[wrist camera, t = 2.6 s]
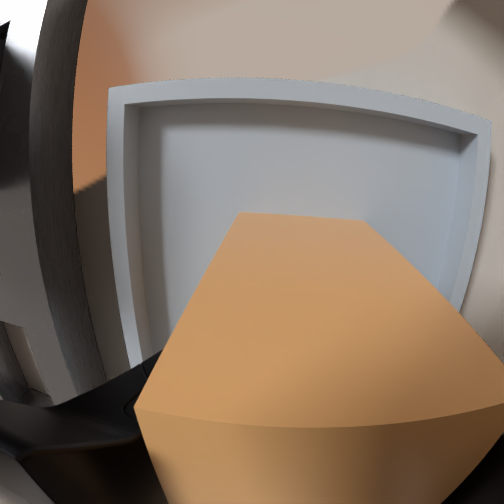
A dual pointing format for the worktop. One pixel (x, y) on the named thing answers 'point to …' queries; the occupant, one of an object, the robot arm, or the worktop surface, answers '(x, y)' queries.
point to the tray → (280, 181)
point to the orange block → (318, 375)
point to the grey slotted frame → (41, 204)
